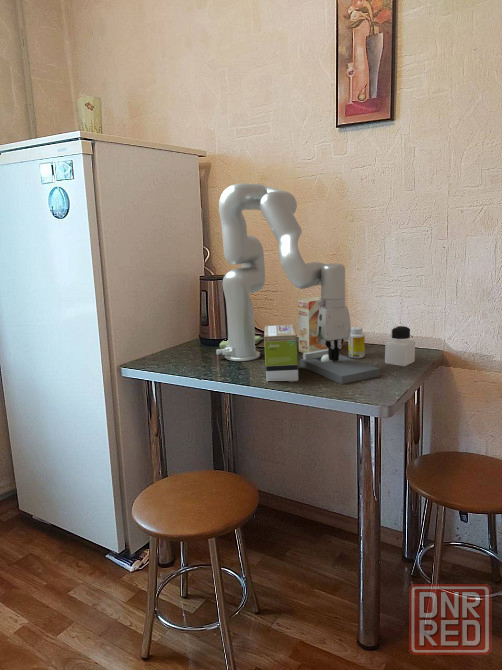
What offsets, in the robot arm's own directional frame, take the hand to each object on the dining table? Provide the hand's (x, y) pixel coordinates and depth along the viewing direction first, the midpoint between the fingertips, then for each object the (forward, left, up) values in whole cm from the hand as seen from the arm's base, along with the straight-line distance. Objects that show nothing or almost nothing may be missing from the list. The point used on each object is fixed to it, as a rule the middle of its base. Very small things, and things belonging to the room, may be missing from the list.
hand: (333, 359), depth 169 cm
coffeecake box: (+10, +23, -3) cm, 25 cm away
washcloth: (-10, +49, -4) cm, 50 cm away
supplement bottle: (+15, +8, -3) cm, 17 cm away
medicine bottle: (+22, -6, -3) cm, 23 cm away
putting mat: (0, -3, -3) cm, 4 cm away
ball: (0, +4, -1) cm, 4 cm away
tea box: (-17, +4, -3) cm, 18 cm away
